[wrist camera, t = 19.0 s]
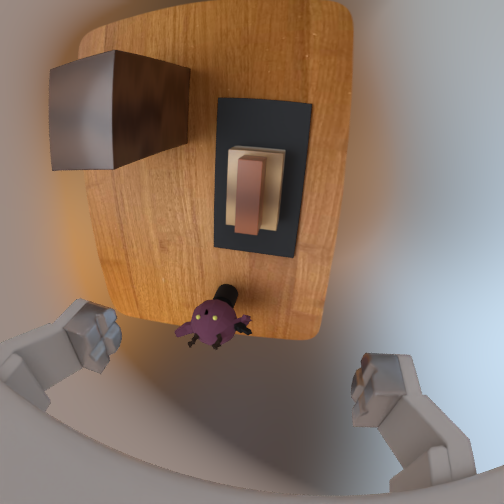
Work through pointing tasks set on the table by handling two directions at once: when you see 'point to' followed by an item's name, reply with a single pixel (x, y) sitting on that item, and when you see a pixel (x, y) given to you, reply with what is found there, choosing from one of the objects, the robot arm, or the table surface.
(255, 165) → the stepped wooden block
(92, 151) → the riser
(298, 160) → the mat
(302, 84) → the table surface
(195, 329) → the figurine
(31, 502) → the robot arm
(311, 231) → the table surface
